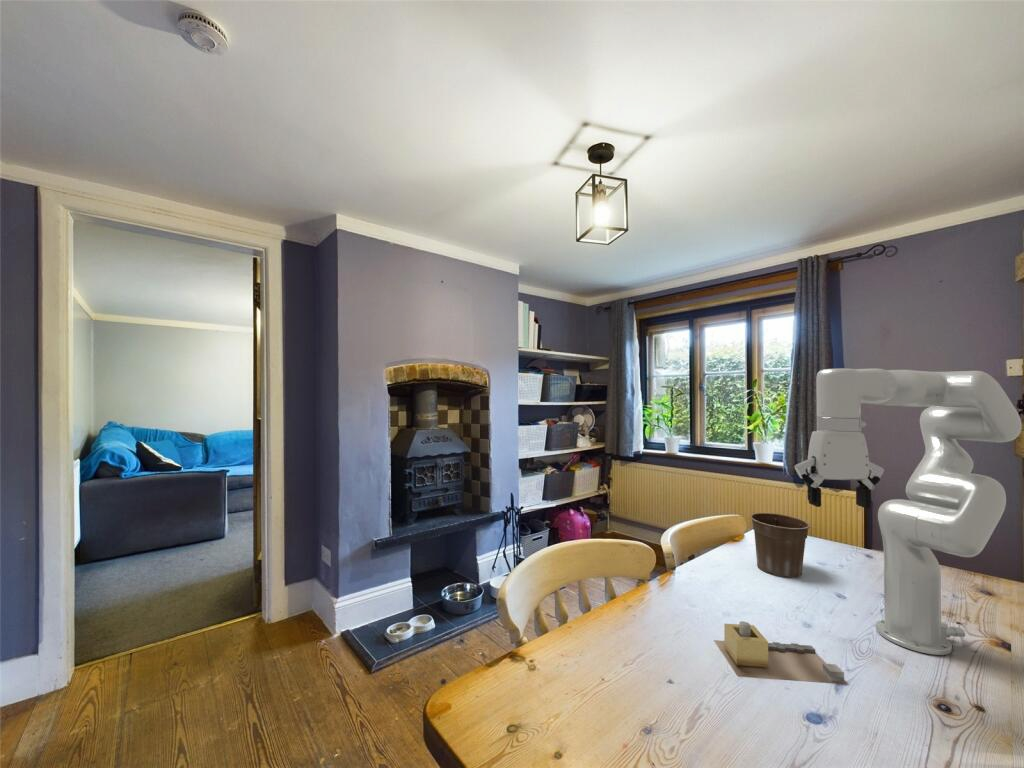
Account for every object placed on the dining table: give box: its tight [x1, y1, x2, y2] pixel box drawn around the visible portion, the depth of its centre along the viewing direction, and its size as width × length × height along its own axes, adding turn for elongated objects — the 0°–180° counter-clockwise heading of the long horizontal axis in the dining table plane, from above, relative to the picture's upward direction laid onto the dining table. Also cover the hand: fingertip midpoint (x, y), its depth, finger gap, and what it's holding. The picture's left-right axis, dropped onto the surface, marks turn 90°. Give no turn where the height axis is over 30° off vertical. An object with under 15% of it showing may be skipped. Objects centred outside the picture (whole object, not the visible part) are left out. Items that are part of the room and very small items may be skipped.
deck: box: [713, 620, 848, 685], centre depth 86 cm, size 20×12×8 cm, turn 85°
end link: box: [723, 623, 769, 667], centre depth 87 cm, size 6×6×5 cm
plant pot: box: [749, 512, 811, 579], centre depth 135 cm, size 16×16×16 cm
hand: (838, 506), depth 90 cm, fingers open, 9 cm apart
